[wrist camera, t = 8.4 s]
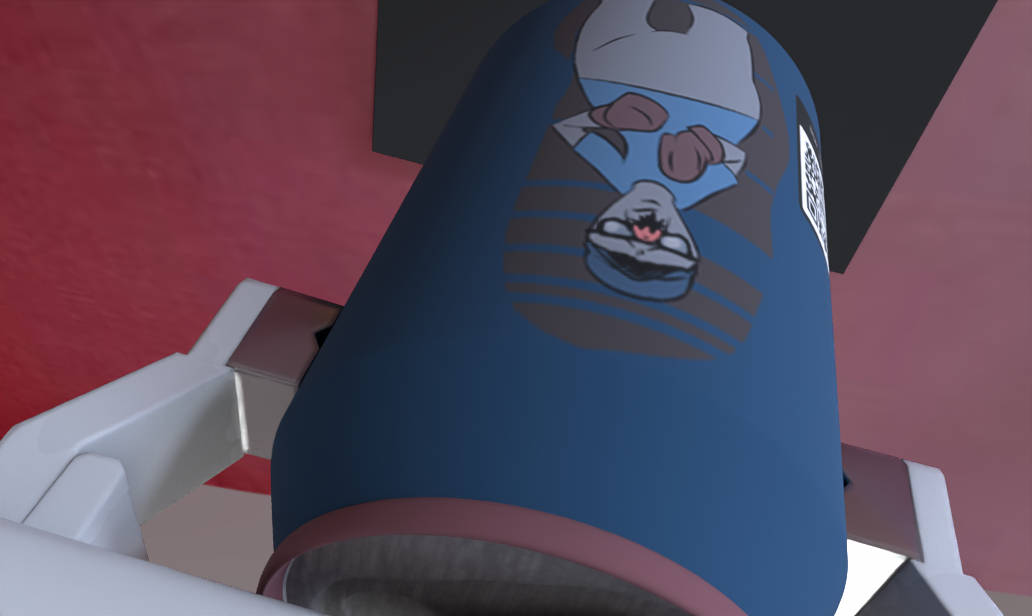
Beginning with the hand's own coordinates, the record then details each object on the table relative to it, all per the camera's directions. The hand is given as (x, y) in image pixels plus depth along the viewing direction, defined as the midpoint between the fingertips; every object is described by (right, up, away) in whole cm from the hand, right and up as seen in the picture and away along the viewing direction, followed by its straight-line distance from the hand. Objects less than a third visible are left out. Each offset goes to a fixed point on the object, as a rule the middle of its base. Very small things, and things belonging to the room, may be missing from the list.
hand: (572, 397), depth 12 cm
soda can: (+2, +5, +6) cm, 8 cm away
